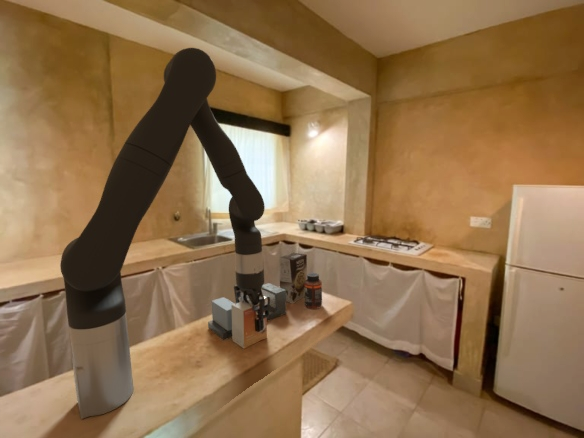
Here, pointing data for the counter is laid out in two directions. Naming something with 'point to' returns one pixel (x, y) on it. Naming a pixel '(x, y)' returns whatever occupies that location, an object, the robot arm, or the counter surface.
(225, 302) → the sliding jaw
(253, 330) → the small box
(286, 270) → the coffee box
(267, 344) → the counter surface
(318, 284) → the supplement bottle
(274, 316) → the vise bed
